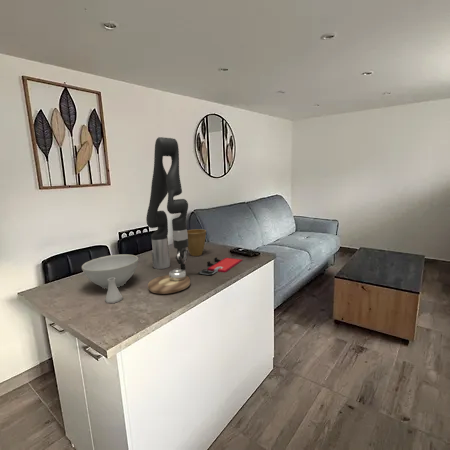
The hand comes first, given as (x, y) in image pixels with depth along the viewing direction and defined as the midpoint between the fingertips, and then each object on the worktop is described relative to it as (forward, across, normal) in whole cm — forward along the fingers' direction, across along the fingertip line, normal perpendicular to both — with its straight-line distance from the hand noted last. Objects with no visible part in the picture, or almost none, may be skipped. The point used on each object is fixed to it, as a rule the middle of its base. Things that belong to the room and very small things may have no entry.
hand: (183, 270), depth 153 cm
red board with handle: (+5, -17, +16) cm, 24 cm away
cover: (+1, +9, 0) cm, 9 cm away
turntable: (+4, +13, -3) cm, 14 cm away
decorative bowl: (+4, +10, -34) cm, 36 cm away
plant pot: (+4, -42, -5) cm, 43 cm away
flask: (+4, +28, -23) cm, 37 cm away
